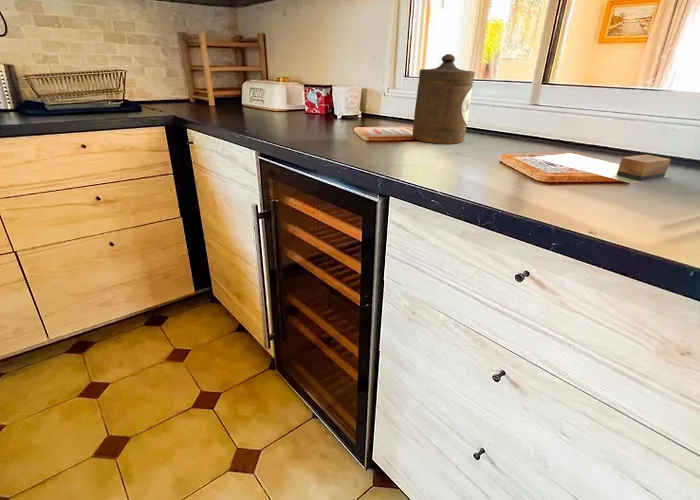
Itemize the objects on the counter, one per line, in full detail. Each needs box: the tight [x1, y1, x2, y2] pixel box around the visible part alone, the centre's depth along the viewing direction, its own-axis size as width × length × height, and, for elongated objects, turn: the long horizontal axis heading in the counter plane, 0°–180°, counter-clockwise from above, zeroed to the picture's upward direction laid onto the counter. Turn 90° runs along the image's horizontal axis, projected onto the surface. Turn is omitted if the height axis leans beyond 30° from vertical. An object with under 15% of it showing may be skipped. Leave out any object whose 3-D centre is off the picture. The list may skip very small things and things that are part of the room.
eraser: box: [617, 153, 672, 182], centre depth 76 cm, size 4×8×4 cm, turn 116°
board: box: [532, 152, 670, 184], centre depth 84 cm, size 22×13×1 cm, turn 26°
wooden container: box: [411, 53, 476, 145], centre depth 110 cm, size 15×15×22 cm
